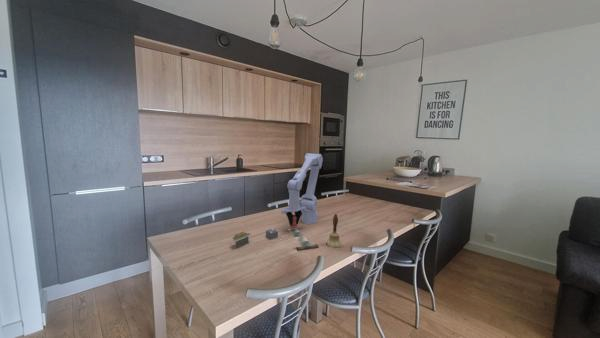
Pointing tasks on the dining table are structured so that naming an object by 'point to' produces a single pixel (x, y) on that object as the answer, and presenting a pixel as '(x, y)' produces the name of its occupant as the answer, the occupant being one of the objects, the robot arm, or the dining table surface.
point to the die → (272, 234)
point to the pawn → (294, 222)
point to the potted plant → (241, 239)
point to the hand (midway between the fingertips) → (293, 224)
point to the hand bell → (334, 235)
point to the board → (305, 244)
